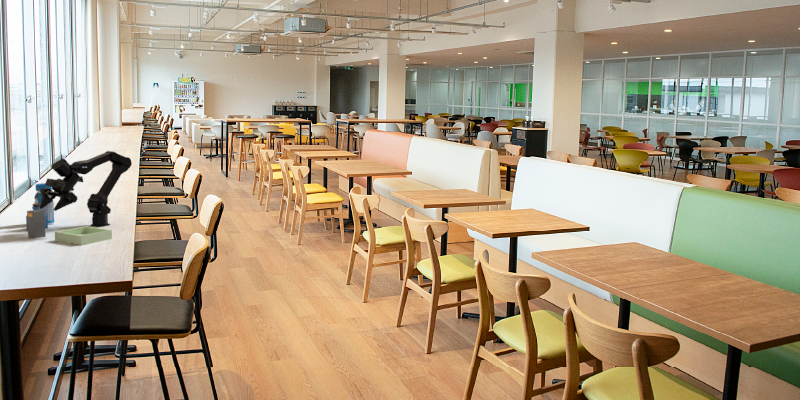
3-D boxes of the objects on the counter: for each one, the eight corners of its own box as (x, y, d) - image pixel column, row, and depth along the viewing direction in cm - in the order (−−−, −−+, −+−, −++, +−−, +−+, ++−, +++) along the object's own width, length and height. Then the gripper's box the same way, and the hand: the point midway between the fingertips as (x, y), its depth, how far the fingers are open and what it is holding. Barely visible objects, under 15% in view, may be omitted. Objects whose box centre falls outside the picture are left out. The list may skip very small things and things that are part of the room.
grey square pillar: (38, 235, 273) (37, 209, 271) (45, 236, 271) (44, 210, 270) (27, 237, 268) (26, 211, 266) (34, 238, 266) (33, 212, 265)
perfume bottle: (47, 228, 289) (46, 203, 287) (36, 230, 283) (35, 205, 281) (38, 227, 291) (37, 202, 289) (26, 229, 285) (25, 204, 283)
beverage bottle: (45, 225, 294) (44, 185, 291) (31, 224, 296) (29, 184, 293) (58, 222, 302) (57, 183, 299) (44, 221, 304) (42, 182, 301)
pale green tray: (86, 234, 279) (86, 226, 278) (111, 238, 273) (111, 230, 272) (55, 240, 264) (54, 231, 263) (81, 245, 258) (80, 236, 257)
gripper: (42, 170, 279) (20, 196, 271) (71, 173, 272) (49, 200, 264) (58, 185, 288) (37, 211, 279) (86, 189, 281) (66, 215, 272)
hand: (47, 209), depth 273 cm, fingers open, 9 cm apart
